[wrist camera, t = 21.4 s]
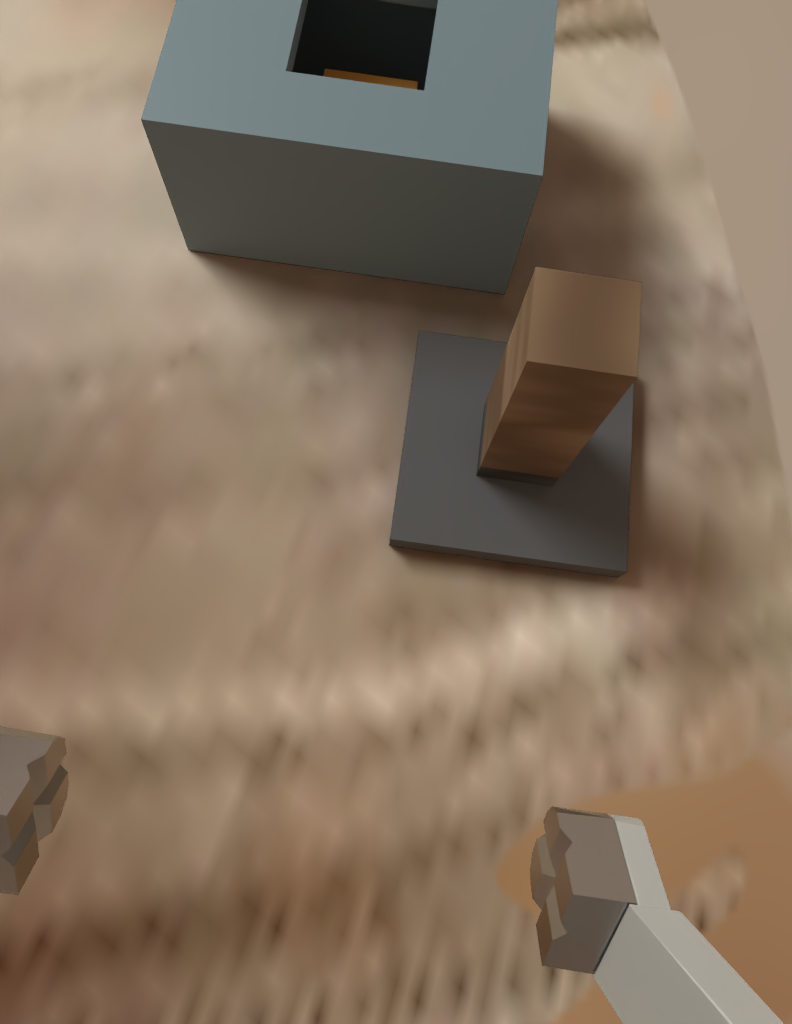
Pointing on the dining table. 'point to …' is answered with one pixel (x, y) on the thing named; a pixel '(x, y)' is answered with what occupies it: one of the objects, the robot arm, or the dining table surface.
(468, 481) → the pad
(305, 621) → the dining table surface
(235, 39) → the box
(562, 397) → the upright wooden post
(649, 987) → the robot arm
